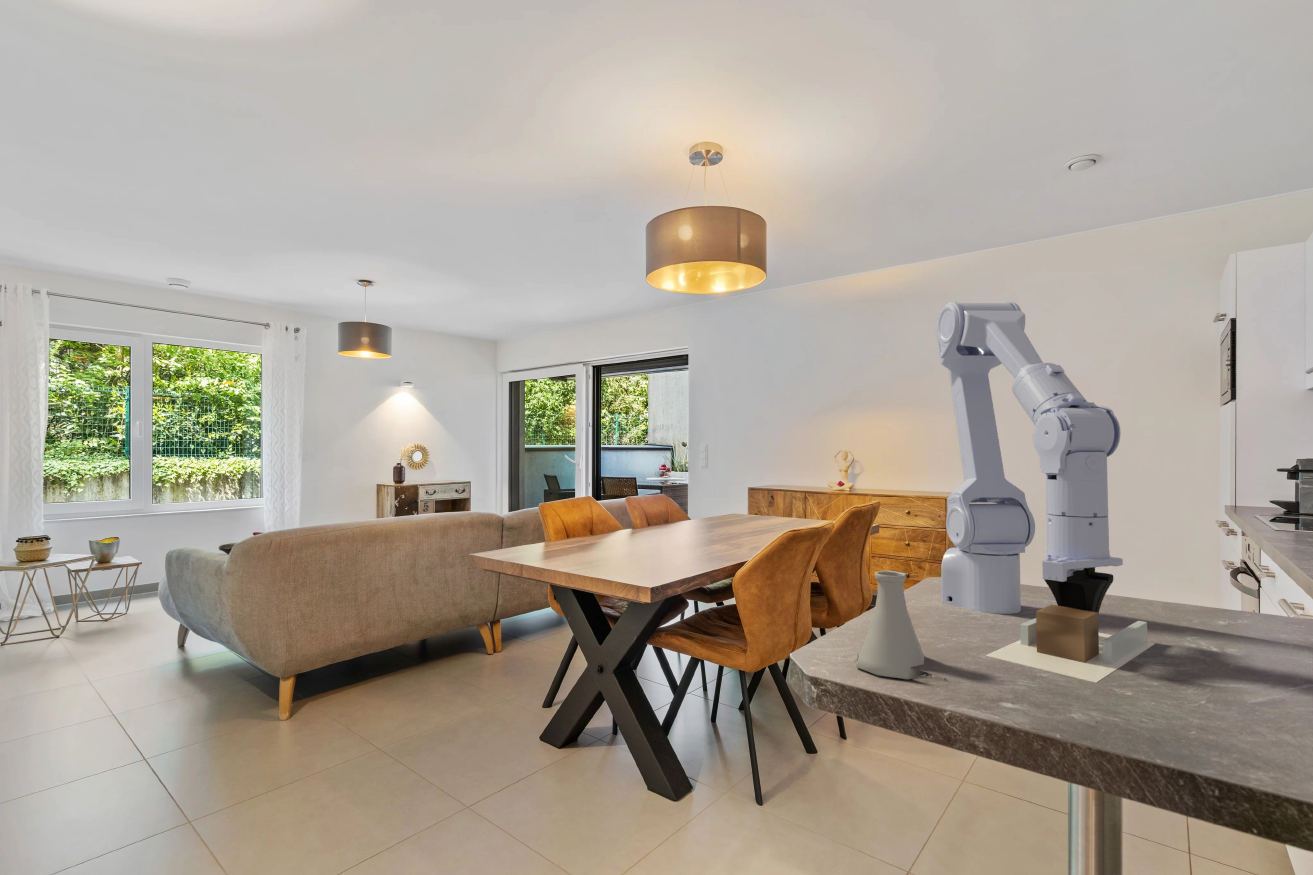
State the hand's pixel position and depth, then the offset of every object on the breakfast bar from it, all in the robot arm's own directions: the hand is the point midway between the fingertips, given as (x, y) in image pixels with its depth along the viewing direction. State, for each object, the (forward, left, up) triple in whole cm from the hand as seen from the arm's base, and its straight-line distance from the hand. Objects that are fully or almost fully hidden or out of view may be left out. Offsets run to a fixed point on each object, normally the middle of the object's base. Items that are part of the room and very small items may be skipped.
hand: (1079, 638), depth 69 cm
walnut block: (0, -4, -1) cm, 4 cm away
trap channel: (0, -2, -2) cm, 3 cm away
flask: (-11, -19, -2) cm, 22 cm away
